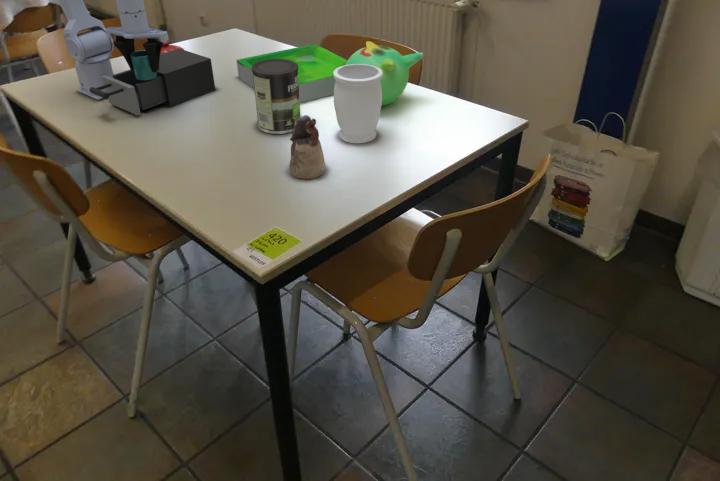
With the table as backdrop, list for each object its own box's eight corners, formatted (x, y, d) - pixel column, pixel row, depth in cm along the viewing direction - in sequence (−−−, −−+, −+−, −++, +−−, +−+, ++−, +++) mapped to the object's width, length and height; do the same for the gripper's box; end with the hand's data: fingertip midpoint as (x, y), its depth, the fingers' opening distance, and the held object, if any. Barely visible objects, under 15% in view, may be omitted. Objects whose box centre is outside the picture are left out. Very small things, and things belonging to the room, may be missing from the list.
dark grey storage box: (170, 106, 142) (164, 74, 137) (140, 94, 148) (132, 62, 143) (215, 89, 151) (210, 58, 146) (185, 78, 157) (179, 48, 152)
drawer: (116, 122, 132) (109, 94, 128) (89, 109, 138) (81, 82, 134) (182, 98, 144) (177, 72, 140) (154, 87, 150) (148, 61, 146)
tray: (363, 86, 153) (363, 68, 150) (281, 107, 142) (279, 88, 139) (315, 60, 170) (314, 43, 167) (238, 77, 158) (236, 59, 155)
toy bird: (366, 85, 154) (367, 29, 146) (422, 97, 147) (426, 40, 139) (330, 107, 142) (328, 49, 133) (389, 123, 135) (391, 62, 126)
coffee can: (306, 117, 137) (303, 60, 129) (294, 136, 129) (290, 76, 121) (266, 114, 139) (260, 56, 130) (251, 132, 131) (244, 72, 122)
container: (142, 71, 138) (137, 49, 135) (161, 73, 137) (156, 51, 134) (131, 79, 134) (125, 56, 131) (150, 81, 133) (145, 57, 130)
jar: (346, 150, 124) (346, 83, 115) (327, 131, 131) (325, 67, 122) (389, 140, 128) (391, 75, 119) (367, 122, 135) (368, 60, 126)
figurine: (309, 159, 120) (306, 105, 113) (332, 170, 116) (330, 116, 109) (283, 170, 116) (278, 116, 109) (306, 183, 112) (303, 127, 105)
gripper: (92, 12, 125) (107, 73, 133) (152, 17, 122) (164, 78, 130) (110, 4, 130) (124, 63, 138) (168, 8, 128) (178, 68, 136)
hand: (144, 69), depth 135 cm, fingers closed on container, 5 cm apart
